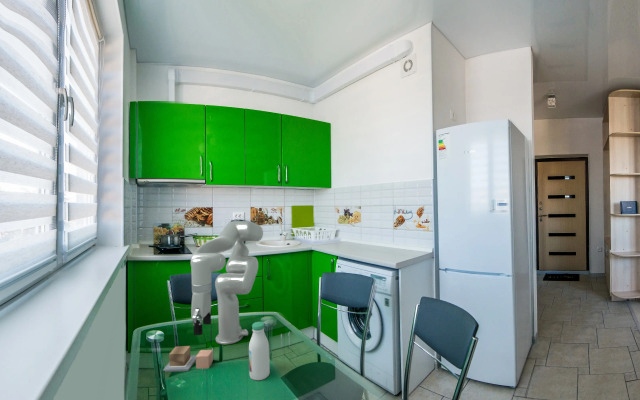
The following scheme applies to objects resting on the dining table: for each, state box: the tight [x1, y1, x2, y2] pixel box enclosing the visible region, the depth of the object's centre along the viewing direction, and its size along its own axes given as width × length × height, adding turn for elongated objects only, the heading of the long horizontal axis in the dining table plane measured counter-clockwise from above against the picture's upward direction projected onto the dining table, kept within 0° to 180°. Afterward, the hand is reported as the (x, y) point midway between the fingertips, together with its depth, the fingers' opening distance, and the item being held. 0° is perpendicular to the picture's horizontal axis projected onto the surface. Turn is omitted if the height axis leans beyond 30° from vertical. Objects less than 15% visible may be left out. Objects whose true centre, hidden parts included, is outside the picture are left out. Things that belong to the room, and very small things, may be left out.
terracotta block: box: [195, 349, 214, 370], centre depth 125 cm, size 5×5×5 cm
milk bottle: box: [248, 321, 271, 381], centre depth 117 cm, size 8×8×20 cm
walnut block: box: [168, 345, 192, 366], centre depth 126 cm, size 6×6×5 cm
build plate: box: [162, 354, 197, 372], centre depth 126 cm, size 10×10×1 cm
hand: (202, 329), depth 124 cm, fingers open, 9 cm apart
